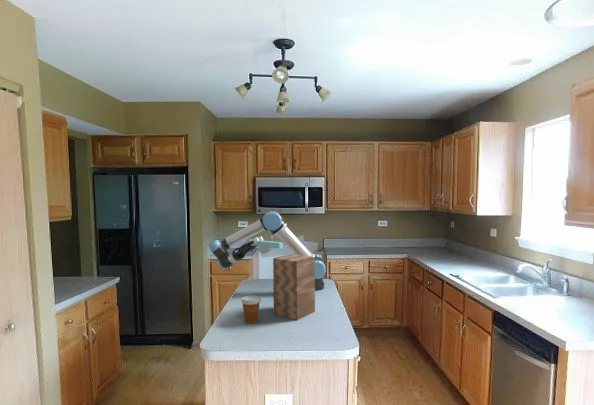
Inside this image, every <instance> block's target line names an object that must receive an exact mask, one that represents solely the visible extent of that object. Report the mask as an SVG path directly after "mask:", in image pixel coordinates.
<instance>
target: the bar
mask: <svg viewBox="0 0 594 405" xmlns="http://www.w3.org/2000/svg"><path fill="white" fill-rule="evenodd" d="M252 240H253V239H246V243H248V242H249V243H250V241H252ZM253 246H257V247H262V248H263V247H264V248H270V249H271V248H272V249H283V248H284V243H283V242H282V241H281V242H280V241H271V240H263V241H261V240H259V241H258V242H257V243H256V244H254V245H253Z"/></svg>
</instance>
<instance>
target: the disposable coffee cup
mask: <svg viewBox="0 0 594 405" xmlns="http://www.w3.org/2000/svg"><path fill="white" fill-rule="evenodd" d="M241 302H242V309H243V317H244V322H245V323H246V324H249V325H250V324H256V323H257V322H258V320H259V312H260V310H259V309H260V303H261V298H260V296H259V295H254V294H253V295H252V294H251V295H245V296H243V297H242V299H241Z"/></svg>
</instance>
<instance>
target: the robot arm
mask: <svg viewBox="0 0 594 405" xmlns="http://www.w3.org/2000/svg"><path fill="white" fill-rule="evenodd" d="M262 231H264V232H266V231H269V233H271V235H272V236H276V237H278V238H279V240H280V241H281V242H283V245H285V246H286V247H287V248H288V249H289V250H290V251H291V253H292V254H295V255H303V256H311V257H315V291H321V290H324V289H325V282H324V280H323V277H324V275H325V274H326V272H327V271H326V270H327V269H326V264H325V263H324V262H323V260H322V259H323V256H322V255H321V254H315V253H313V252H310V250H309V249H308V248H307V247H306V246H305V245H304V244H303V243H302V241H301V240H299V239H298V237H297V236H296V235H295V234H294V232H292V231H291V230H290V228H289V227H288V223H287V222H286V221H285V219H284V218H283V217H282V216H281V214H280V213H278V212H277V211H274V210H270V211H268V212H266V213H265V214H264V215H262V216H261V217H259V218H258V220H257V221H254V223H251V224H249V225H247V226H245V227H244V228H242V229H240V230H238V231H236V232H234V233H232V234H231V235H229V236H227V237H225V238H224V239H221V240H218V239H216V240H214V241H213V242H212V243H210V244H209V245H208V249H209V250H210V251H211V253H212V254H213V255H214V256H215V257H216V259H217V260H218V266H219V268H220V269H221V270H223V271H226V270H228V269H230V268H231V267H233V266H235V265H236V264H238V263H239V262H240V261H241V260H242V259H244V258H245V256H246V254H247V253H249V252H253V250H255V249H256V248H257V247H258V246H253V245H254V244H256V243H257V242H258V241H259V240H261V241H264V238H263V236H259V237H258V236H256V235H257V234H259V233H261V232H262ZM253 236H256V237H255V238H253V239H251V240H252V241H250V243H249V242H248V243H247V242H245V243H244V244H242V245H240V246H239V247H236V248H235V249H233V250H232V251H230V252H228V250H230V249H231V248H233V247H235V246H237V245H238V244H240V243H243V242H244V241H247V240H249V239H250V238H252V237H253Z"/></svg>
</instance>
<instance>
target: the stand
mask: <svg viewBox="0 0 594 405" xmlns="http://www.w3.org/2000/svg"><path fill="white" fill-rule="evenodd" d="M272 260H273V262H272V265H273V266H272V267H273V268H272V271H273V272H272V273H273V275H272V276H273V277H272V278H273V281H272V282H273V286H272V287H273V314H274V315H278V316H281V317H283V318H288V319H291V320H295V321H299V320H301V319H303V318H304V317H307V316H309V315H311V314H313V313H315V312H316V290H315V257H311V256H303V255H295V254H293V253H291V254H286V255H281V256H277V257H274V258H272Z"/></svg>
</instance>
